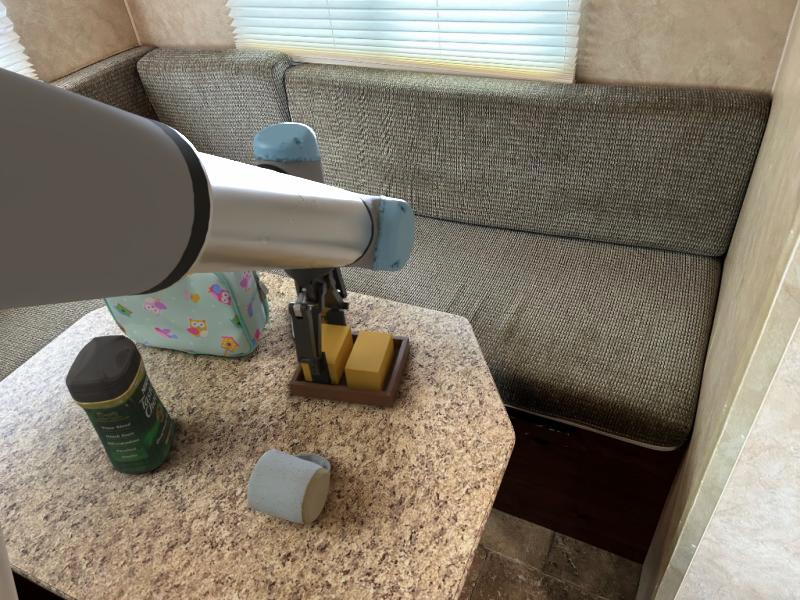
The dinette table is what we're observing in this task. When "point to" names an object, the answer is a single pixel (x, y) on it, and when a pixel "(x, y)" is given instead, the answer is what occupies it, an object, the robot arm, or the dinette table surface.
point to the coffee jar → (121, 403)
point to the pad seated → (370, 360)
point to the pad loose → (334, 350)
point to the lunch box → (198, 314)
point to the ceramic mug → (289, 485)
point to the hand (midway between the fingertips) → (331, 362)
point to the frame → (355, 394)
